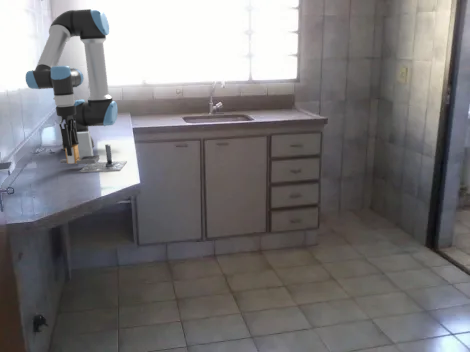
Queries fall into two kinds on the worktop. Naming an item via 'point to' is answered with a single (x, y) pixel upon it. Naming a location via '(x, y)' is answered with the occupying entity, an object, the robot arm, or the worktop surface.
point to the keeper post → (105, 164)
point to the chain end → (83, 158)
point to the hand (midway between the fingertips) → (73, 161)
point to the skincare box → (84, 144)
